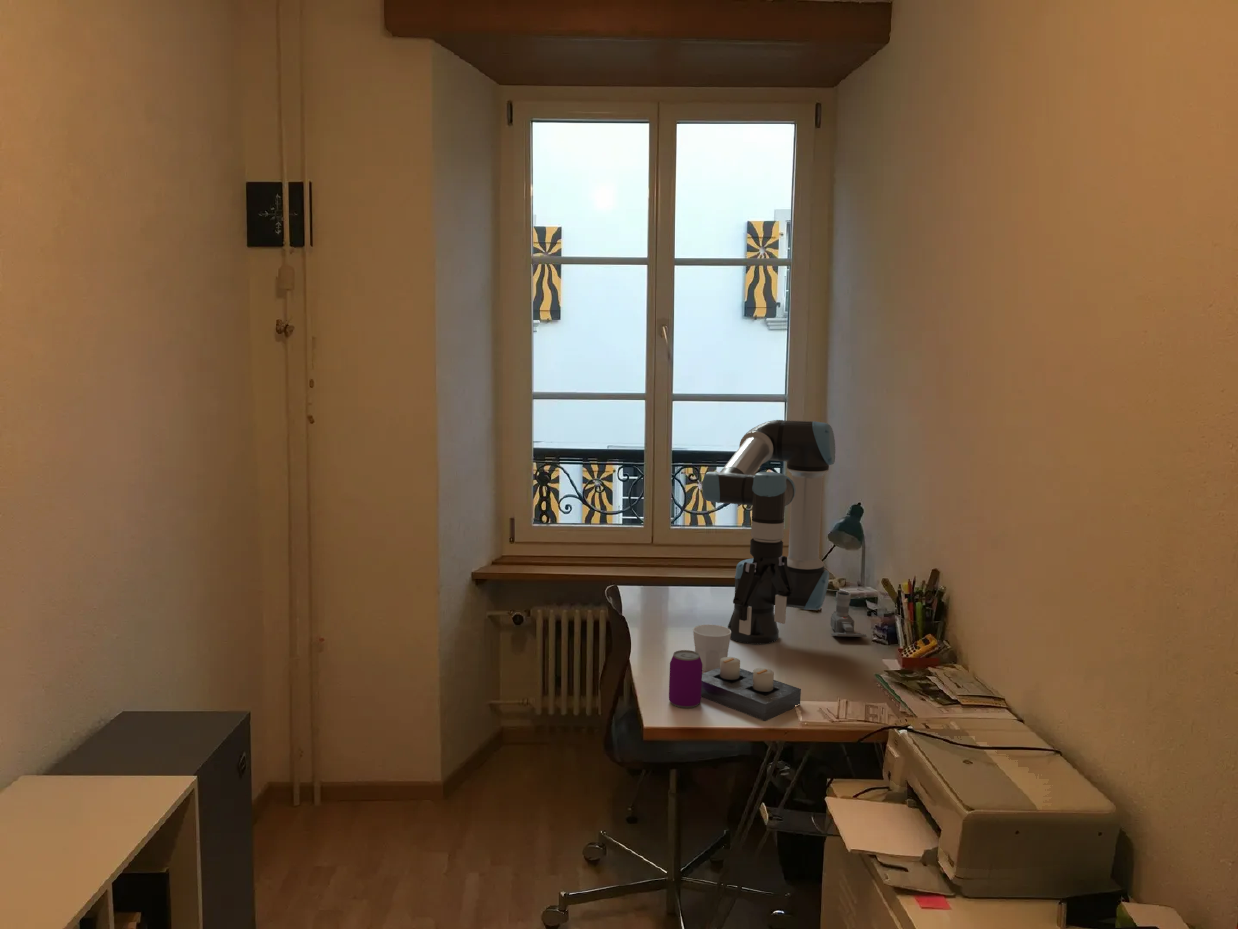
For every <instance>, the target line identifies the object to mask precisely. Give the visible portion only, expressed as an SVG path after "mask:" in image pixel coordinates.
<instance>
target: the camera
mask: <svg viewBox="0 0 1238 929" xmlns="http://www.w3.org/2000/svg"><path fill="white" fill-rule="evenodd" d="M851 594H852V593H850V592H849V591H841V590H840V591H836V594H835V601H836V607H835V608H836V609H835V611H833V612H832V613H831V616H830V626H831V628H832V630H834V632H831V633H830V635H832V636H834V637H835V636H836V637H853V638H854V637H858V638H859V637H860V638H867V634H864V633H860V632H854V631H855V620H854V619H853V618H852V617H851V615H850V614H849V612H850V611H849V610H850V608H849V607H850V603H851V596H852V595H851Z"/></svg>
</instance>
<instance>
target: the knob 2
mask: <svg viewBox="0 0 1238 929" xmlns="http://www.w3.org/2000/svg"><path fill="white" fill-rule="evenodd" d="M774 675H775V672H774V670H772V669H770V668H767V667H758V668H754V669H753V689H755V690H757V691H762V692H768V691H772V690H773V680H775V679H774V677H775V676H774Z"/></svg>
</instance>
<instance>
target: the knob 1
mask: <svg viewBox="0 0 1238 929" xmlns="http://www.w3.org/2000/svg"><path fill="white" fill-rule="evenodd" d="M740 668H741V659H739V658H737V657H732V656H727V657H724V658H721V660H720V677H721V678H724V679H728V680H735V679H738V678H739V677H740Z"/></svg>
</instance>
